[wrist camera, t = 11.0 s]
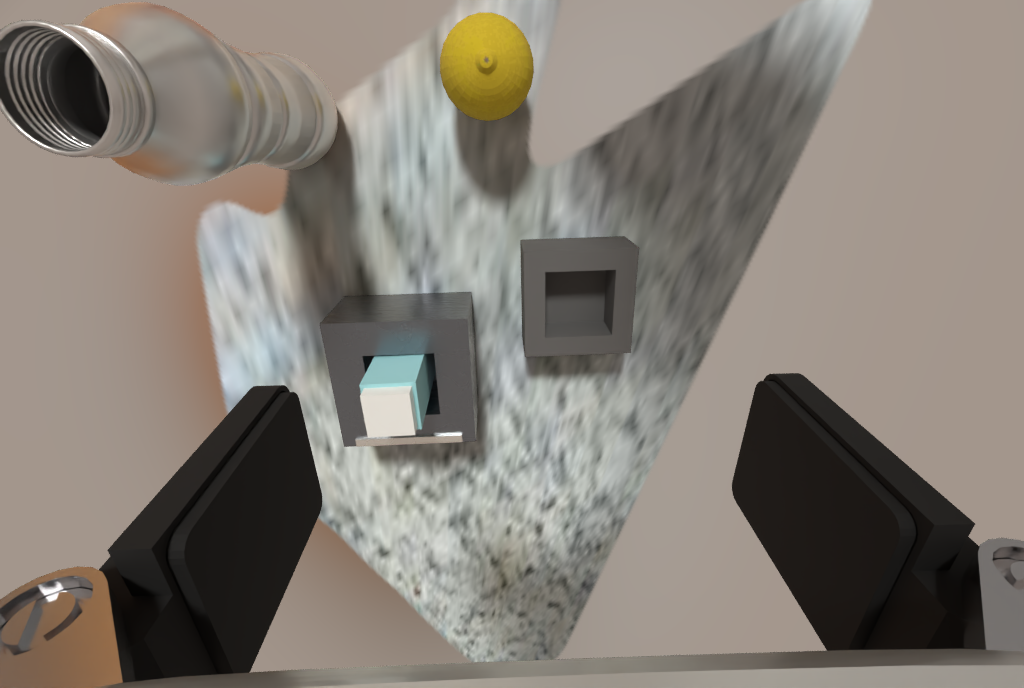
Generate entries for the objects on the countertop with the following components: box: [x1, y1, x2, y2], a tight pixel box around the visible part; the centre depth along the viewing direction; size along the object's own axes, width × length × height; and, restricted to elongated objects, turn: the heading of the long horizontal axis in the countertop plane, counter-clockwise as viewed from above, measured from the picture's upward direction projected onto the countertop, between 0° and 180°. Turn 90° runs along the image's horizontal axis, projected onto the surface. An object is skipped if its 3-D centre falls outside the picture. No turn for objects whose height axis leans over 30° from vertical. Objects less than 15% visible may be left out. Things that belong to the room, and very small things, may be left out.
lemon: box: [440, 13, 534, 121], centre depth 29 cm, size 6×6×8 cm
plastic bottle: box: [0, 2, 338, 185], centre depth 24 cm, size 6×7×20 cm
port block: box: [320, 292, 478, 447], centre depth 37 cm, size 10×10×6 cm
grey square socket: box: [521, 236, 639, 357], centre depth 37 cm, size 8×8×4 cm
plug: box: [359, 353, 436, 438], centre depth 34 cm, size 4×4×10 cm
